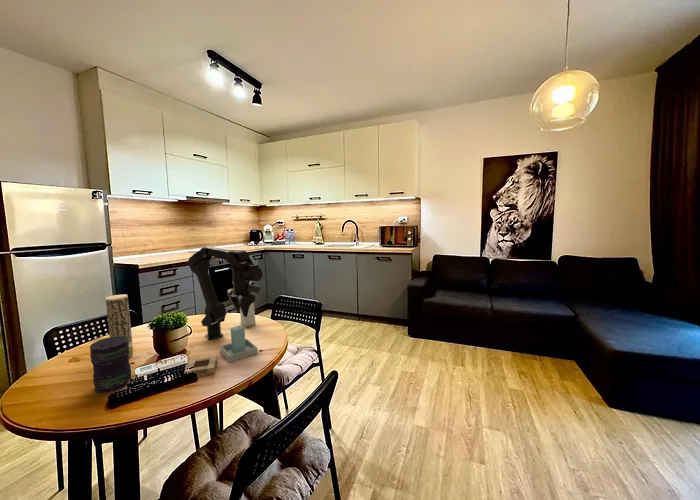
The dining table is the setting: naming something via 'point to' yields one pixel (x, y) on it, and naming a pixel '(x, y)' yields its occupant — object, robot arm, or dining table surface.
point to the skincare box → (248, 316)
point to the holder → (202, 366)
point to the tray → (231, 356)
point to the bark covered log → (119, 318)
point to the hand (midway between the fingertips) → (241, 314)
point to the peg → (238, 339)
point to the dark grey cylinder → (110, 364)
